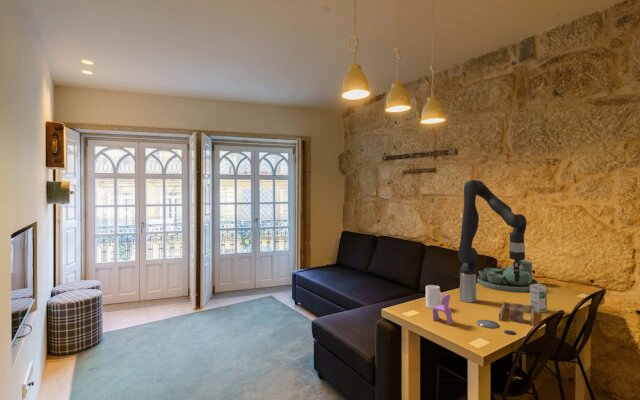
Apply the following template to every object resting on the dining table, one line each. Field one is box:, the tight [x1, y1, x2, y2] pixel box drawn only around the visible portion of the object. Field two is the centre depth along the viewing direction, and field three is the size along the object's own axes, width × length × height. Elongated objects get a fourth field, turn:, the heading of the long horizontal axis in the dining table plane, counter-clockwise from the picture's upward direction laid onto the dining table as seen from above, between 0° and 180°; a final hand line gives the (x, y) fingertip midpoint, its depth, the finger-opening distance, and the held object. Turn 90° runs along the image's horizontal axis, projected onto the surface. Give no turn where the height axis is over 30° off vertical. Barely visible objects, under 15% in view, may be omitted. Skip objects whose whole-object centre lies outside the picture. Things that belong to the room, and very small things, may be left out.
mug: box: [424, 284, 445, 310], centre depth 203 cm, size 8×12×12 cm
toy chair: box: [432, 293, 454, 326], centre depth 181 cm, size 8×9×15 cm
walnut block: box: [508, 307, 524, 324], centre depth 181 cm, size 6×6×6 cm
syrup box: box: [529, 283, 548, 313], centre depth 195 cm, size 6×6×14 cm
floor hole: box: [503, 329, 517, 336], centre depth 165 cm, size 5×5×1 cm
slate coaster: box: [476, 319, 499, 329], centre depth 176 cm, size 10×10×1 cm
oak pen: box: [498, 301, 536, 327], centre depth 187 cm, size 15×23×4 cm, turn 147°
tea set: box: [476, 260, 541, 293], centre depth 250 cm, size 40×40×16 cm
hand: (517, 279), depth 190 cm, fingers open, 8 cm apart
